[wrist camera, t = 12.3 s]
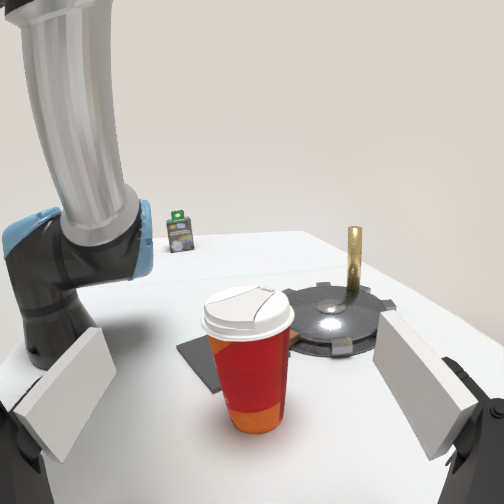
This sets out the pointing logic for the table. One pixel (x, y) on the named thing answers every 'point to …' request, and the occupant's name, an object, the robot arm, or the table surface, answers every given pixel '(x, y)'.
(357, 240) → the sprocket
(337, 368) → the table surface
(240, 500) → the table surface
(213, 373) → the marked pad
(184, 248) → the chalk box
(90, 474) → the table surface
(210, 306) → the paper cup
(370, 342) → the sprocket base
